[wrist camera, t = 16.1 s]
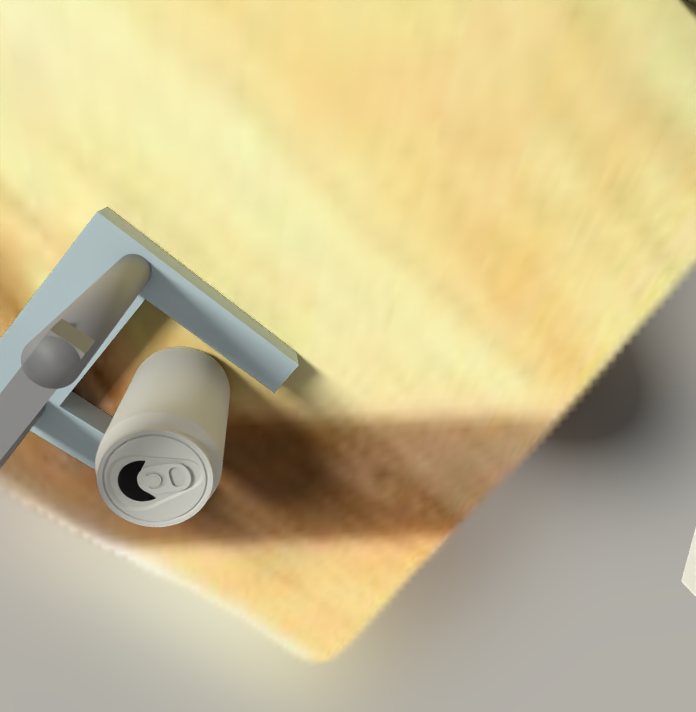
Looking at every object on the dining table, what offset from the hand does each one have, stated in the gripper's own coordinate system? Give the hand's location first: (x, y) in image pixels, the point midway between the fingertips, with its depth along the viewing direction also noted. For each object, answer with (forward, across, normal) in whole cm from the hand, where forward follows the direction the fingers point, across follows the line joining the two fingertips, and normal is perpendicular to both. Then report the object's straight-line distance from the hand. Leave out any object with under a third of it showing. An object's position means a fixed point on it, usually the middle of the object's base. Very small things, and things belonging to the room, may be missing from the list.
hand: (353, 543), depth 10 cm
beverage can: (+31, -7, -10) cm, 33 cm away
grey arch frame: (+31, -9, -8) cm, 33 cm away
